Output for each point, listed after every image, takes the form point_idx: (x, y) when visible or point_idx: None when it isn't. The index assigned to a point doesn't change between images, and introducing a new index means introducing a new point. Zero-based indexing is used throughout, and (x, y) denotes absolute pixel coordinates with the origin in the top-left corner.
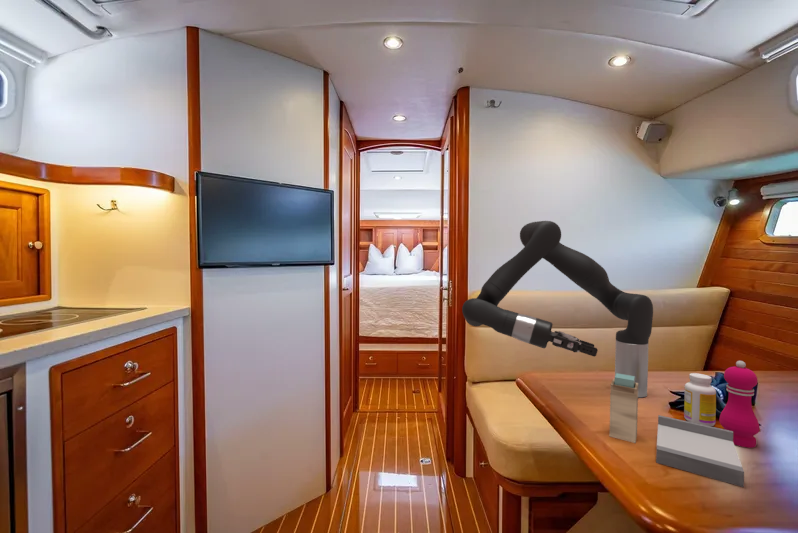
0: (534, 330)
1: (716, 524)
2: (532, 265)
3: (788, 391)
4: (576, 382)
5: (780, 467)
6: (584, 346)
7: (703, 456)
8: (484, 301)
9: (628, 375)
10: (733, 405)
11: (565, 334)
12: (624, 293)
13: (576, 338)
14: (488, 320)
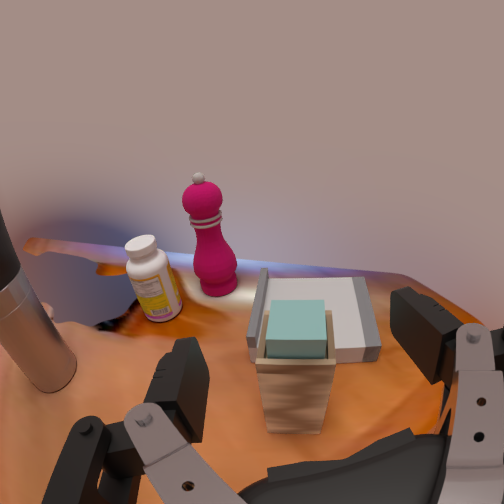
0: None
1: (458, 308)
2: None
3: (66, 242)
4: (11, 448)
5: (277, 267)
6: (461, 322)
7: (353, 303)
8: None
9: (273, 311)
10: (218, 242)
11: (449, 468)
12: None
13: (159, 423)
14: None
